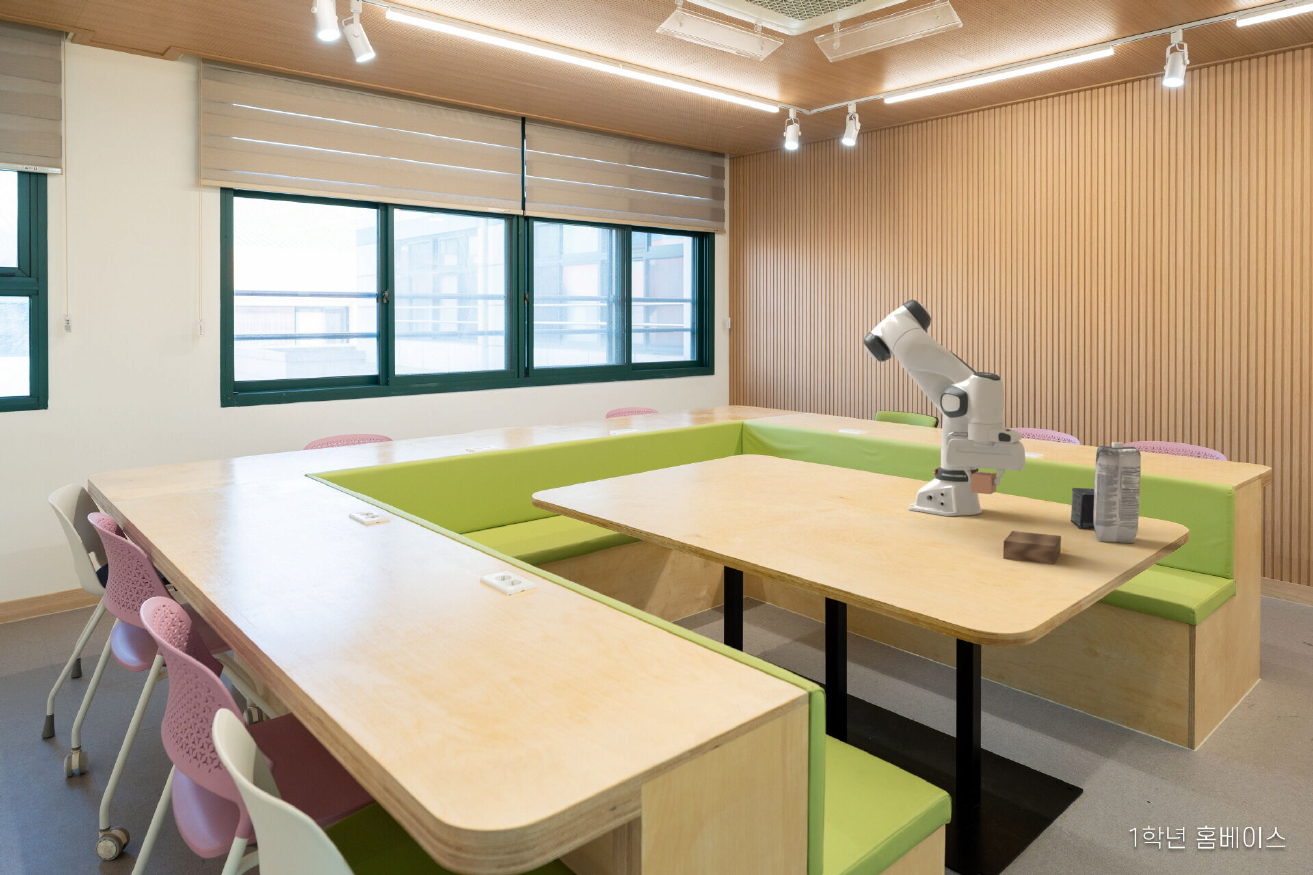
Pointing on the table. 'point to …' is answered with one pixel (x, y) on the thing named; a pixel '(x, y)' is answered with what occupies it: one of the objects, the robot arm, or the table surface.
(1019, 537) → the walnut block
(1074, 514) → the small box
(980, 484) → the terracotta cube
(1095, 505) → the juice carton
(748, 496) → the table surface
